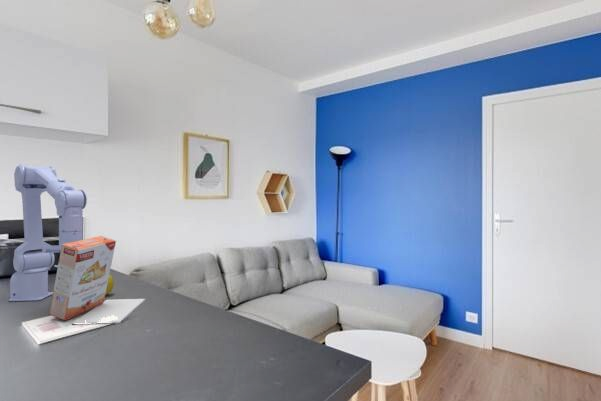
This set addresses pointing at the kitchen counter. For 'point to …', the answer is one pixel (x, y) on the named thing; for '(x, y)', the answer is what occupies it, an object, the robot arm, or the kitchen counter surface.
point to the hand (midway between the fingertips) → (71, 277)
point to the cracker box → (81, 276)
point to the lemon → (109, 285)
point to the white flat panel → (111, 310)
